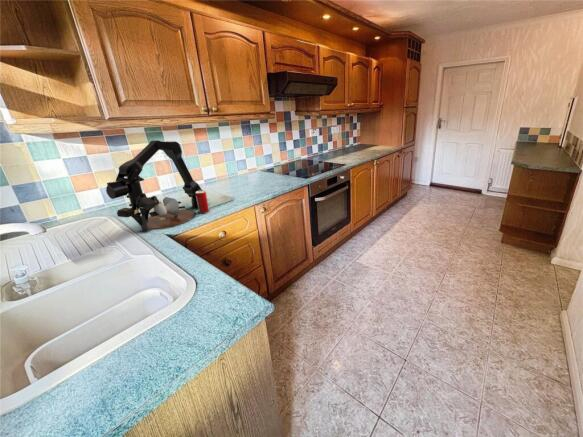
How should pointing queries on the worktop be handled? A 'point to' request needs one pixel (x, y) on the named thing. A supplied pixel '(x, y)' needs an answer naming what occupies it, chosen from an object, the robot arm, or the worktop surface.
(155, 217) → the turntable
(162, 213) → the decorative toy
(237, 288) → the worktop surface
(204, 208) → the soda can
